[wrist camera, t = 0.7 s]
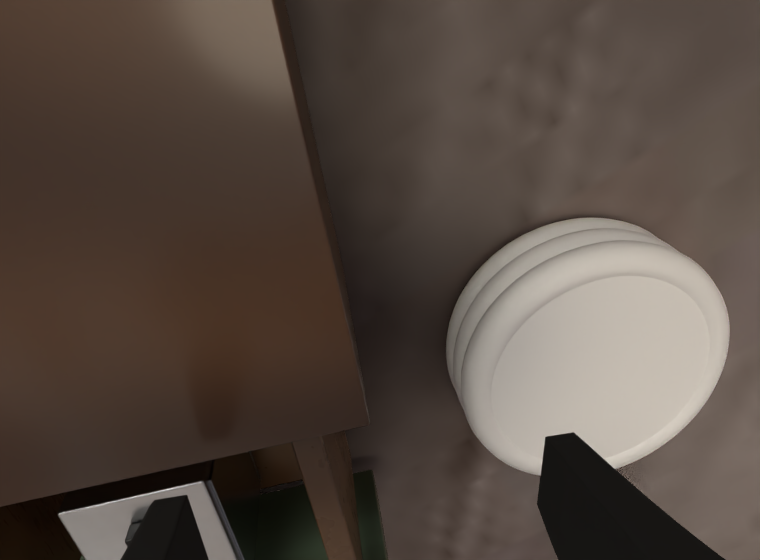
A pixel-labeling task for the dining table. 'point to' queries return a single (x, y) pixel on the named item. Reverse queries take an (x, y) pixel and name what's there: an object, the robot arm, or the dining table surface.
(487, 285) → the white ridged disc
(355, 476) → the drawer
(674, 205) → the dining table surface
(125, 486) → the cube with black handle
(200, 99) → the cabinet
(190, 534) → the robot arm
